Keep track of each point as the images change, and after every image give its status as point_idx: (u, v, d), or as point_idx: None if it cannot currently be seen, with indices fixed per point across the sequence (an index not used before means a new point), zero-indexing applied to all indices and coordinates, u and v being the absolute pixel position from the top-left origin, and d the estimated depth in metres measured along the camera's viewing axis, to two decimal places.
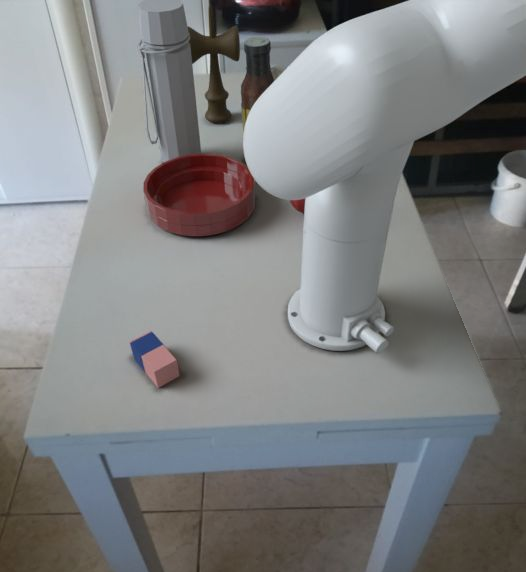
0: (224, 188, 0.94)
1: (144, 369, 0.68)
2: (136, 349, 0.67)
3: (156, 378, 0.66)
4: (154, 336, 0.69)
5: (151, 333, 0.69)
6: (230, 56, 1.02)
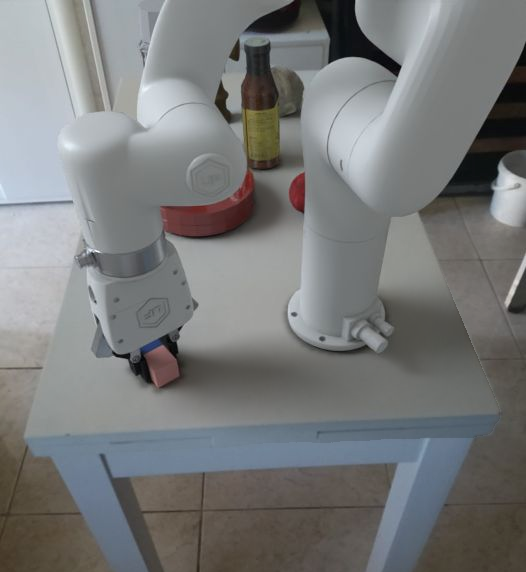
0: None
1: None
2: None
3: (156, 378, 0.66)
4: None
5: None
6: (230, 56, 1.02)
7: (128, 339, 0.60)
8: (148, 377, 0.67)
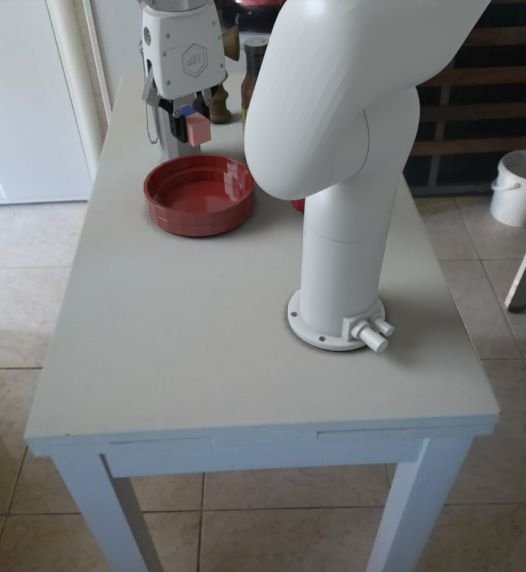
0: (224, 188, 0.94)
1: None
2: None
3: (193, 135, 0.79)
4: (190, 107, 0.82)
5: (187, 105, 0.82)
6: (230, 56, 1.02)
7: (174, 82, 0.73)
8: (186, 138, 0.81)
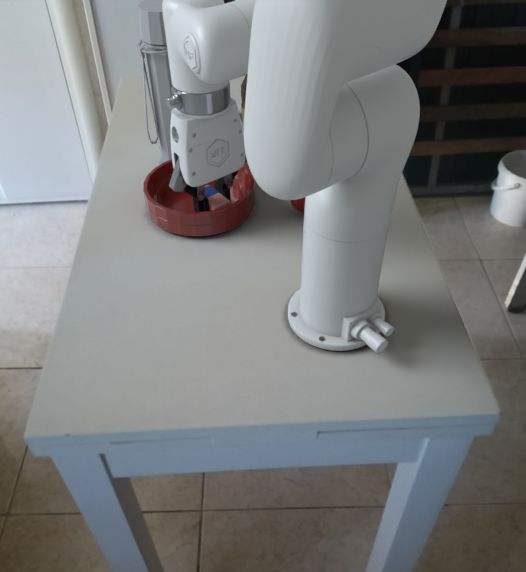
0: None
1: None
2: None
3: None
4: (211, 187, 0.89)
5: (209, 186, 0.89)
6: None
7: (199, 172, 0.80)
8: None
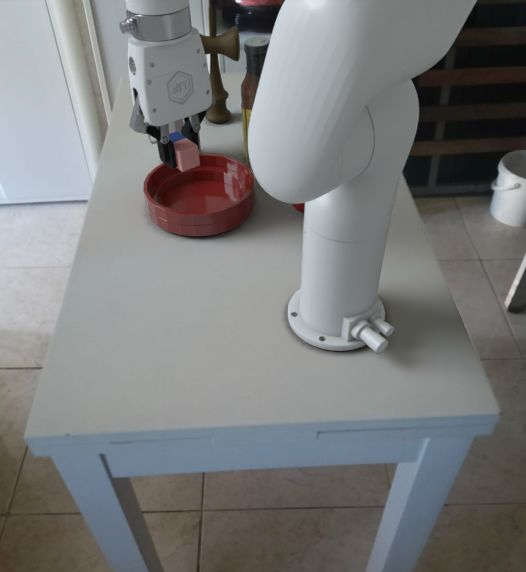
0: (224, 188, 0.94)
1: None
2: None
3: (181, 160, 0.80)
4: (178, 133, 0.83)
5: (176, 131, 0.83)
6: (230, 56, 1.02)
7: (160, 109, 0.74)
8: (174, 163, 0.81)
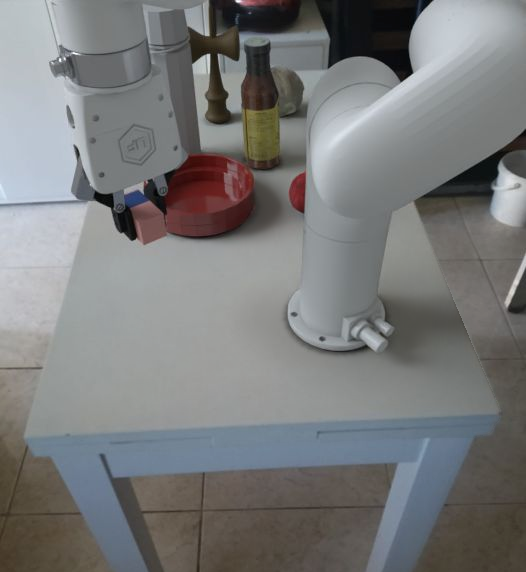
0: (224, 188, 0.94)
1: None
2: None
3: (141, 232, 0.62)
4: (140, 193, 0.64)
5: (137, 191, 0.65)
6: (230, 56, 1.02)
7: (110, 173, 0.55)
8: (134, 234, 0.63)
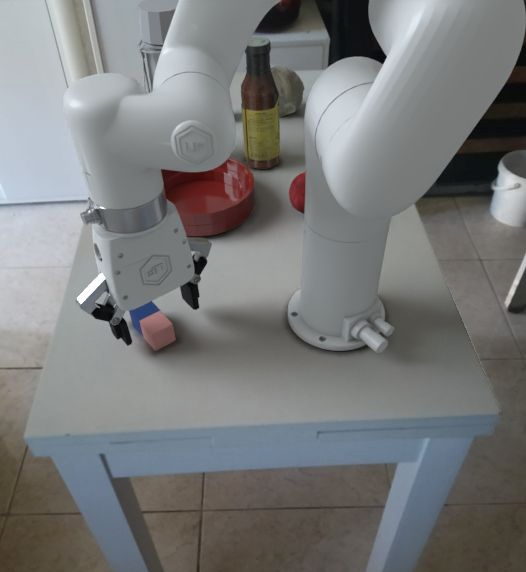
0: (224, 188, 0.94)
1: (142, 334, 0.72)
2: (134, 314, 0.71)
3: (153, 341, 0.70)
4: (151, 303, 0.73)
5: None
6: None
7: (132, 295, 0.63)
8: (129, 340, 0.68)
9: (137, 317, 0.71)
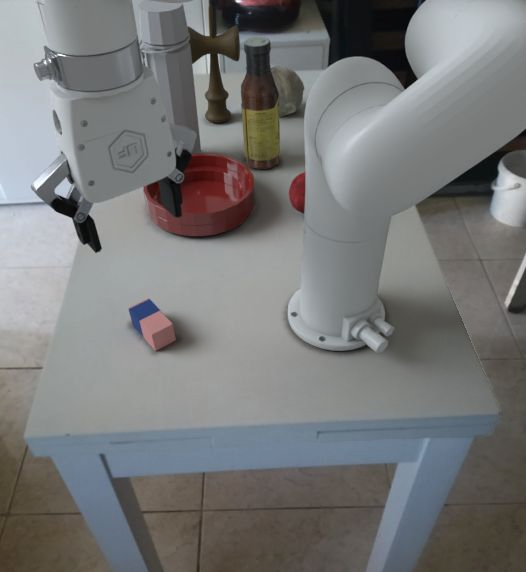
0: (224, 188, 0.94)
1: (142, 334, 0.72)
2: (134, 314, 0.71)
3: (153, 341, 0.70)
4: (151, 303, 0.73)
5: (149, 300, 0.73)
6: (230, 56, 1.02)
7: (100, 181, 0.52)
8: (98, 246, 0.58)
9: (137, 317, 0.71)
